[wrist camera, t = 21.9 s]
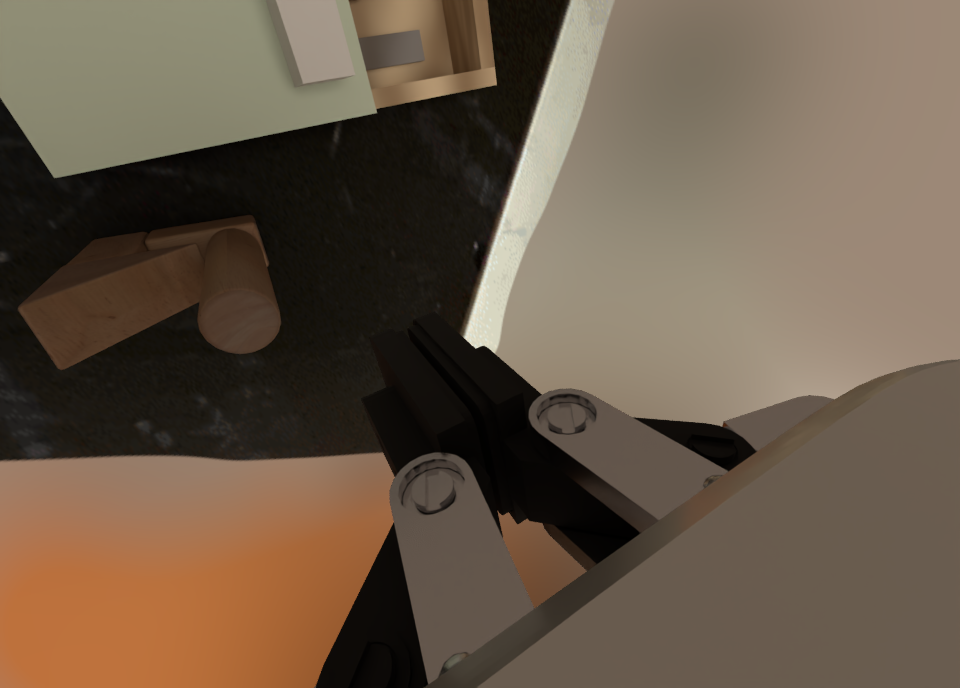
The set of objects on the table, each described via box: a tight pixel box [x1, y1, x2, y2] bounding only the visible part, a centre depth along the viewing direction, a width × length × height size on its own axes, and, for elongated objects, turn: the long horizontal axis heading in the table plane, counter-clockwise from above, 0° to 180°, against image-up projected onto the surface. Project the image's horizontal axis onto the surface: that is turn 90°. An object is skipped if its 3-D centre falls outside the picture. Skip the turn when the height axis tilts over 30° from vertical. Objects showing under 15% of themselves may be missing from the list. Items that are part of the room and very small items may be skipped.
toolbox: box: [348, 0, 497, 109], centre depth 29 cm, size 18×12×6 cm, turn 100°
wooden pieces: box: [18, 215, 281, 370], centre depth 26 cm, size 4×11×18 cm, turn 94°
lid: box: [0, 0, 377, 178], centre depth 21 cm, size 18×12×5 cm
